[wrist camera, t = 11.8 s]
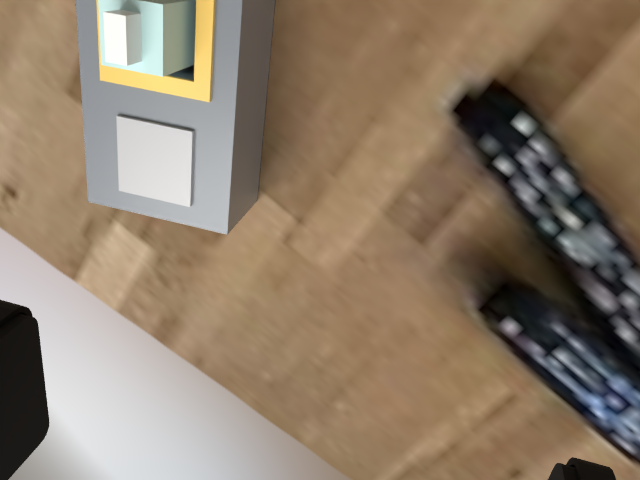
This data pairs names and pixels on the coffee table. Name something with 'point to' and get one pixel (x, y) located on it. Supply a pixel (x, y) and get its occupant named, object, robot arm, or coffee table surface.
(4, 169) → the coffee table surface
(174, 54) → the plug
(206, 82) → the port panel
